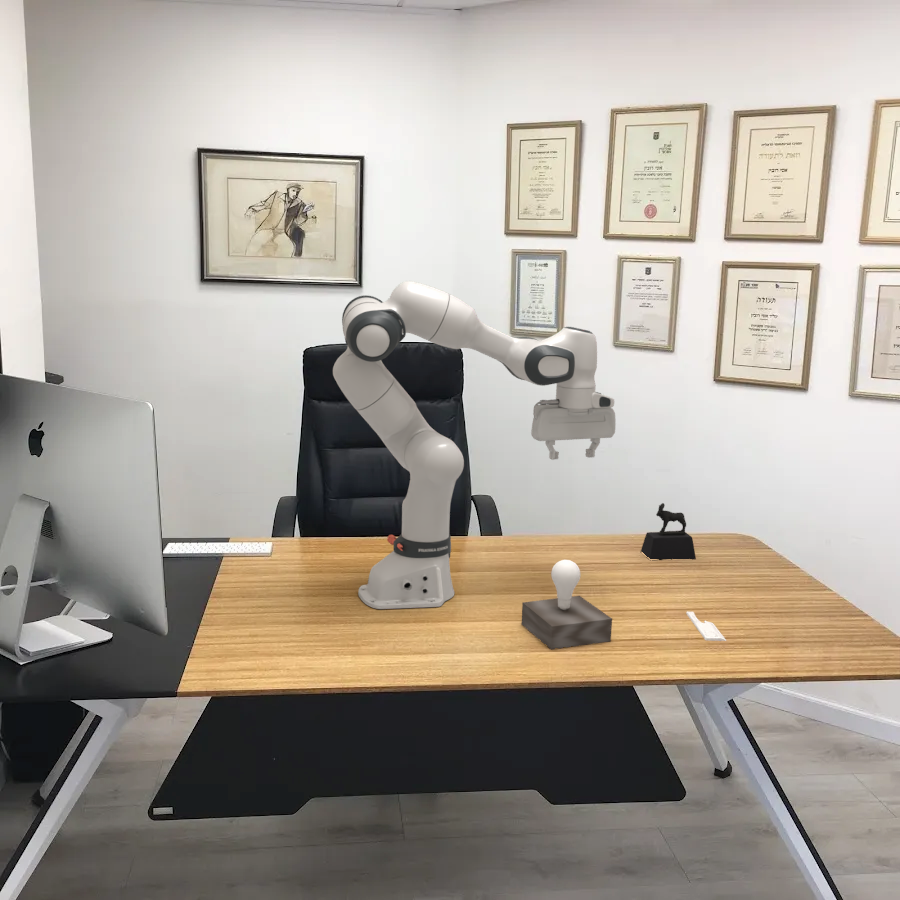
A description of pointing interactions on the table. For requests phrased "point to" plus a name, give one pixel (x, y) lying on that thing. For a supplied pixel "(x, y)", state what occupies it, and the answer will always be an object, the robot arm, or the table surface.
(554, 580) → the lightbulb
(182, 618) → the table surface
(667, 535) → the sculpture
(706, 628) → the white plastic blade
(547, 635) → the charcoal block
